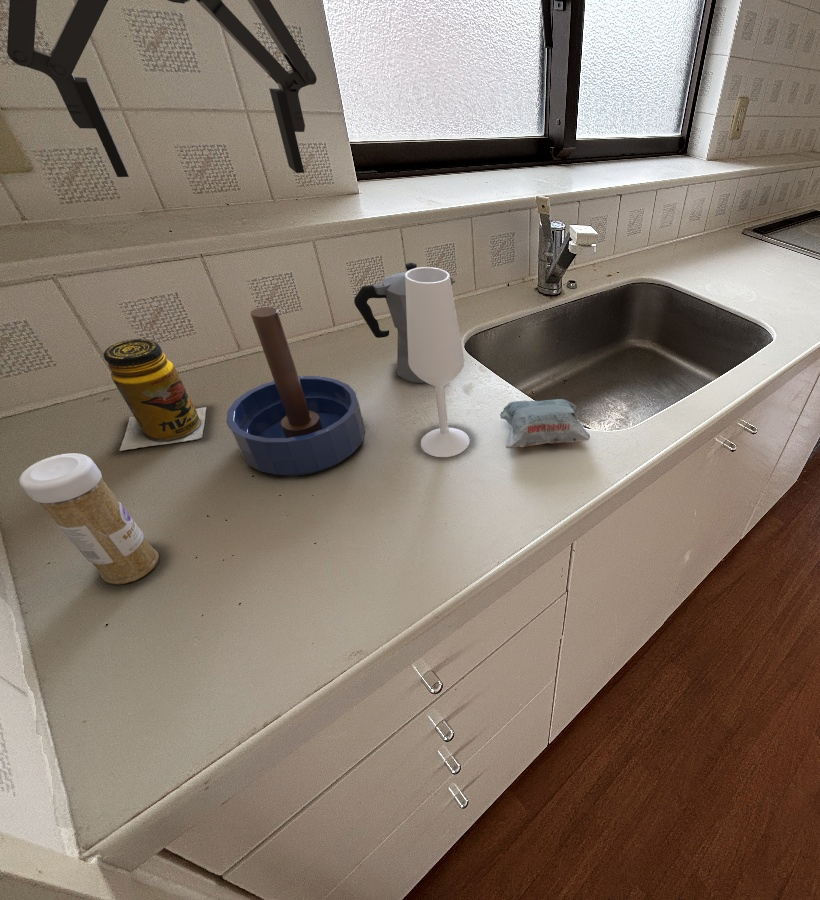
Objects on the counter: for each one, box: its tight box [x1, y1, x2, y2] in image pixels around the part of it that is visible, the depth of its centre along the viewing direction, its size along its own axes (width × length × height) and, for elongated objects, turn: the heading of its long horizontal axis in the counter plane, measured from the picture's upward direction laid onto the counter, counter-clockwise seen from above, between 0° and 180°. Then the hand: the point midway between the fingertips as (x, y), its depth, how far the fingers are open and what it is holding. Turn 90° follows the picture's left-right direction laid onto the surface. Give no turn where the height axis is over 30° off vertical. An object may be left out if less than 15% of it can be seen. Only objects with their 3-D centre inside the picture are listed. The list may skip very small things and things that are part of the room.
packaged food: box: [499, 398, 591, 449], centre depth 72 cm, size 9×12×5 cm
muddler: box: [250, 306, 323, 438], centre depth 61 cm, size 4×4×18 cm
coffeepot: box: [353, 262, 456, 384], centre depth 78 cm, size 15×9×18 cm, turn 129°
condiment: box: [103, 338, 207, 452], centre depth 62 cm, size 7×8×12 cm
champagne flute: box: [405, 266, 470, 458], centre depth 63 cm, size 7×7×24 cm
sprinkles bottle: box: [18, 452, 160, 585], centre depth 46 cm, size 5×5×13 cm
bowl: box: [225, 375, 366, 477], centre depth 65 cm, size 15×15×6 cm
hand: (216, 171), depth 46 cm, fingers open, 13 cm apart
